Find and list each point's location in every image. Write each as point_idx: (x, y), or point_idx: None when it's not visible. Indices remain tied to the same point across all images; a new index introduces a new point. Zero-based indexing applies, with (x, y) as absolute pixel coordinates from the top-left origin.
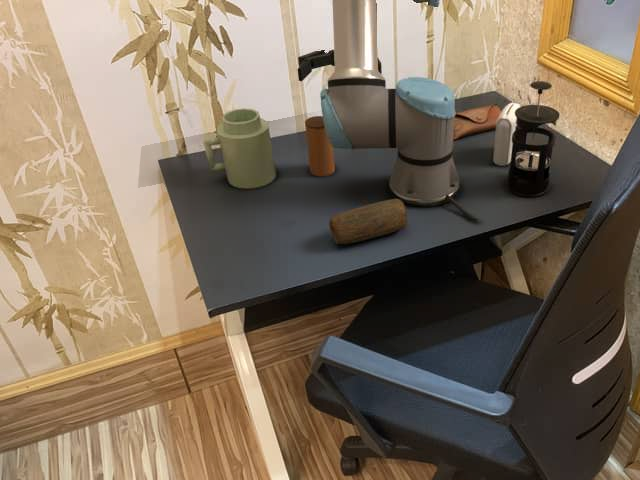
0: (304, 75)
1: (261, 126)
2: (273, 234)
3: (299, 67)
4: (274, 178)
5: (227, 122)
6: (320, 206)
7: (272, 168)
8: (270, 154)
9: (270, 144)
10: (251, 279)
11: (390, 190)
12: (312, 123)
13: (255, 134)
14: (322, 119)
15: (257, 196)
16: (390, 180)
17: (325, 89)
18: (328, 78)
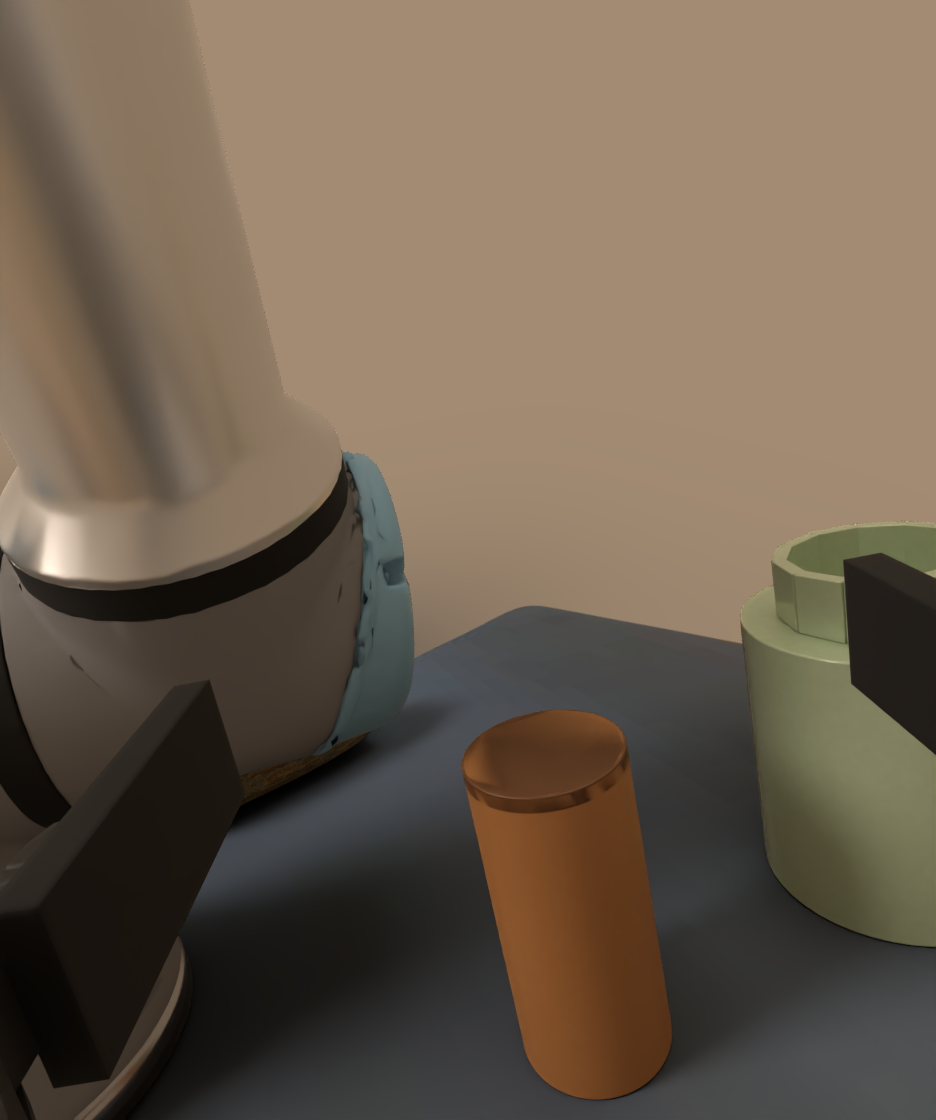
0: (900, 693)
1: (799, 633)
2: (539, 707)
3: (905, 567)
4: (775, 874)
5: (863, 523)
6: (466, 819)
7: (768, 823)
8: (762, 757)
9: (767, 726)
10: (502, 640)
11: (189, 965)
12: (558, 727)
13: (752, 604)
14: (523, 770)
15: (728, 780)
16: (174, 948)
17: (346, 454)
18: (321, 415)
